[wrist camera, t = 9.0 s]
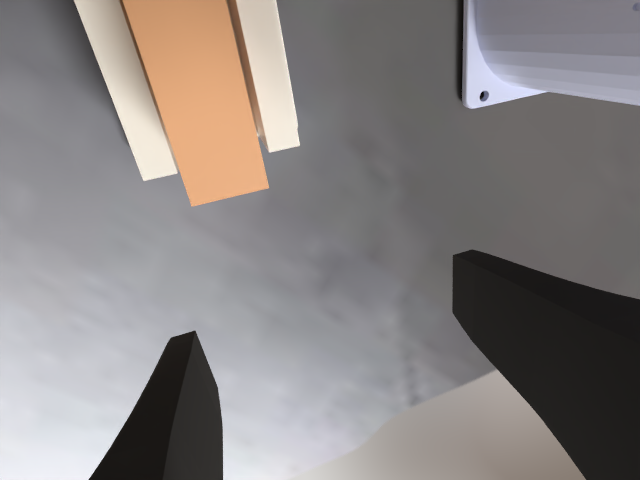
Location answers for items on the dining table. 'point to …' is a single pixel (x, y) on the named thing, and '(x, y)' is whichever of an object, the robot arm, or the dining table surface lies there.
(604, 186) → the dining table surface
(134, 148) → the holder
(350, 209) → the dining table surface
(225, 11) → the panel
